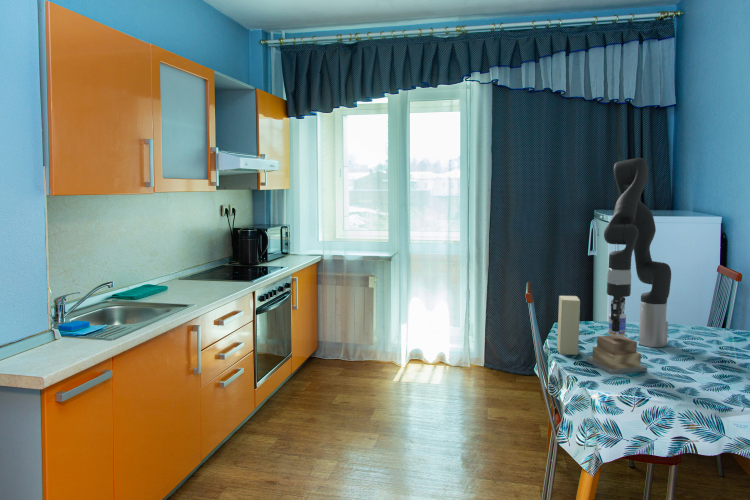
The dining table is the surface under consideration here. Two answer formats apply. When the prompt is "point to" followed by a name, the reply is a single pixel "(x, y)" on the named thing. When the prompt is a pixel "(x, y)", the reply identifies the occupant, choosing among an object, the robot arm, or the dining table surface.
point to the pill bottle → (621, 326)
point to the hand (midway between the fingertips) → (617, 329)
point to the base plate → (616, 371)
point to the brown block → (616, 352)
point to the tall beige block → (568, 325)
